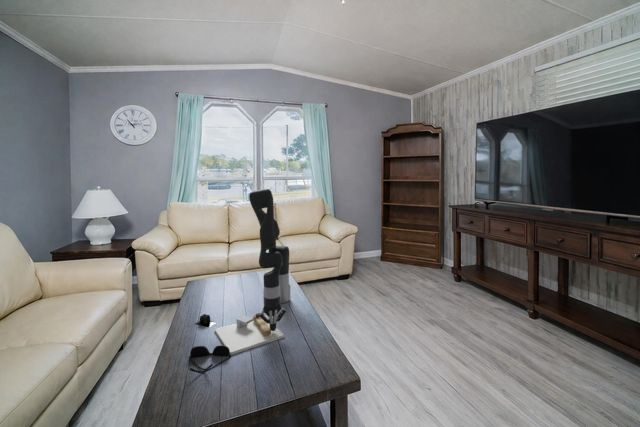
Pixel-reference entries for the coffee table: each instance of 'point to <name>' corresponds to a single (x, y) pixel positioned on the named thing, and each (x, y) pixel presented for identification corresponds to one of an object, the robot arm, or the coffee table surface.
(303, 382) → the coffee table surface
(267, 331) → the oak link
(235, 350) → the board
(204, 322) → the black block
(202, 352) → the sunglasses
